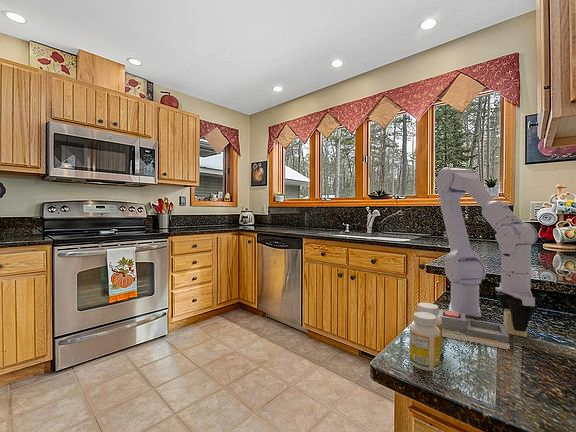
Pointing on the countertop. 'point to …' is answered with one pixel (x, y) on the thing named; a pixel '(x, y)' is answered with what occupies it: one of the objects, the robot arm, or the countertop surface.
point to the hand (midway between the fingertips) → (515, 326)
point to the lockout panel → (474, 330)
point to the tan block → (511, 324)
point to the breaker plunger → (452, 314)
